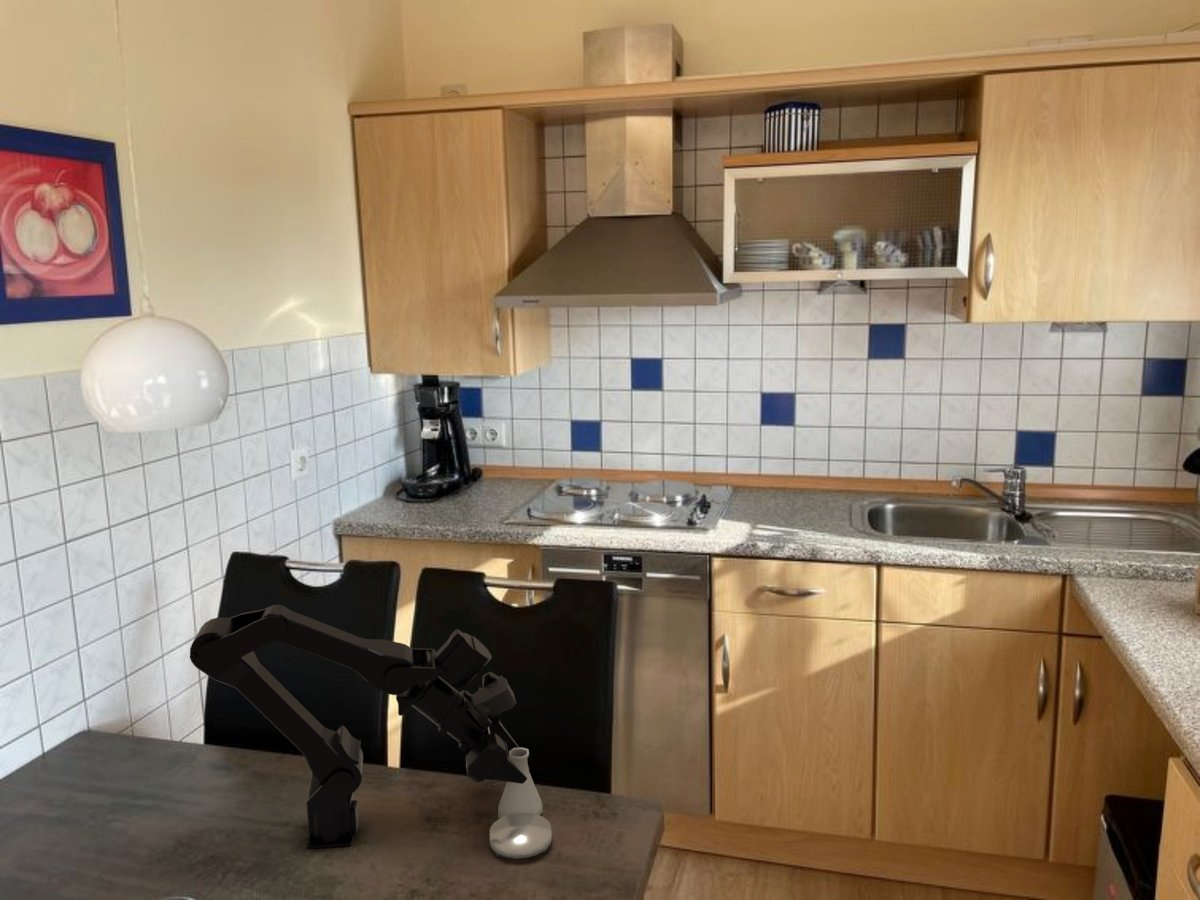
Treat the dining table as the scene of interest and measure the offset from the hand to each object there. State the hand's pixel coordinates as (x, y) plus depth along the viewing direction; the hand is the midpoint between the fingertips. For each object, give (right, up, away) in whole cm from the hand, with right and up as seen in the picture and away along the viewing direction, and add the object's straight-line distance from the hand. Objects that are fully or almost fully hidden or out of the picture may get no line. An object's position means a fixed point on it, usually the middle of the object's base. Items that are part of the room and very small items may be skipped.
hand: (521, 765), depth 142 cm
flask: (0, -8, +1) cm, 8 cm away
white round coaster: (+1, -9, -8) cm, 12 cm away
